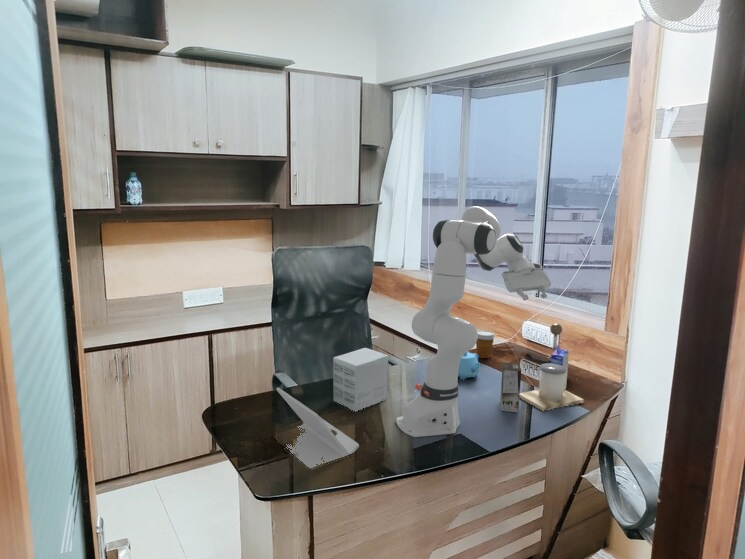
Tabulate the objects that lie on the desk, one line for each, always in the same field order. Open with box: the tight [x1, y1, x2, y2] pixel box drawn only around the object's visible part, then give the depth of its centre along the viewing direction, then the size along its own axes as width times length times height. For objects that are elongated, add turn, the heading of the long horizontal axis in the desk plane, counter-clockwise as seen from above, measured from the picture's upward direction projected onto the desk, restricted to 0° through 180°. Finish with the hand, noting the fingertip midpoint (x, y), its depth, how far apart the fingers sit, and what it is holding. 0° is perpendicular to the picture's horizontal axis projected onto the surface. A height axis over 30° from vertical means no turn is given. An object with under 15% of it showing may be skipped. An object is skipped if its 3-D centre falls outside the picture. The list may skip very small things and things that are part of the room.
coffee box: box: [499, 362, 523, 413], centre depth 193 cm, size 9×6×16 cm
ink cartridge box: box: [550, 345, 569, 372], centre depth 222 cm, size 10×6×14 cm, turn 148°
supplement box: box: [332, 347, 389, 413], centre depth 197 cm, size 17×13×18 cm
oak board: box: [519, 389, 584, 412], centre depth 201 cm, size 20×14×2 cm
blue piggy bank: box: [458, 351, 481, 380], centre depth 224 cm, size 15×14×11 cm
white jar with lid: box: [538, 362, 568, 401], centre depth 201 cm, size 11×10×12 cm
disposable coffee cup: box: [475, 329, 496, 359], centre depth 250 cm, size 10×10×12 cm
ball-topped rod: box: [549, 323, 563, 351], centre depth 197 cm, size 4×4×10 cm
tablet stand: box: [276, 386, 360, 468], centre depth 164 cm, size 18×25×17 cm
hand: (535, 298), depth 206 cm, fingers open, 8 cm apart
